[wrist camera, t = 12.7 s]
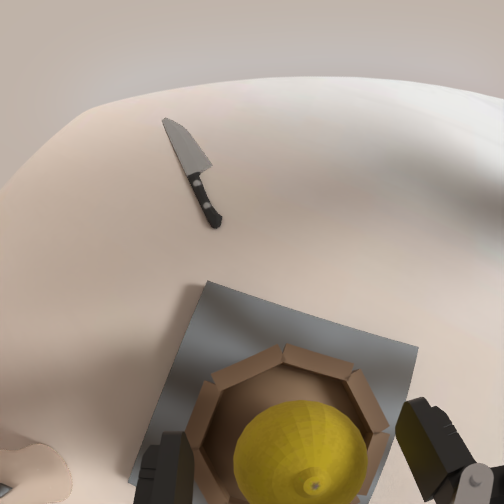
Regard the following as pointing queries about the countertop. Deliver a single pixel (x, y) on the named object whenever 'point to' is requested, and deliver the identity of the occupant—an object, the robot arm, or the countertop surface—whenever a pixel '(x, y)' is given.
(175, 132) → the chef's knife
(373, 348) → the pot with square base
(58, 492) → the beer glass
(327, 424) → the lemon
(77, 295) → the countertop surface
